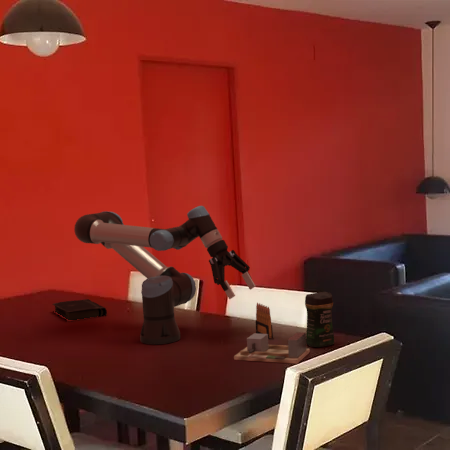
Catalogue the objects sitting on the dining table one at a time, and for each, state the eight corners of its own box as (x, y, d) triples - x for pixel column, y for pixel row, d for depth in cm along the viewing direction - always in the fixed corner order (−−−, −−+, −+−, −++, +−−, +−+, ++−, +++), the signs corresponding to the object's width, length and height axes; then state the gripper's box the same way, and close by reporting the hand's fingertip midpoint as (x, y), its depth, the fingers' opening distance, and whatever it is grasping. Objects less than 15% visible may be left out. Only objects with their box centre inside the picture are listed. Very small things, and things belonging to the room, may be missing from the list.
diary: (90, 308, 349) (89, 298, 349) (107, 317, 327) (106, 306, 327) (51, 313, 341) (50, 302, 340) (65, 323, 318) (65, 311, 318)
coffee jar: (316, 349, 254) (313, 296, 252) (302, 344, 261) (300, 293, 259) (338, 344, 258) (336, 292, 256) (325, 340, 265) (323, 289, 263)
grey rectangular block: (243, 356, 245) (242, 341, 244) (254, 347, 255) (254, 333, 254) (257, 357, 243) (256, 342, 242) (268, 348, 253) (267, 334, 252)
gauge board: (233, 359, 246) (233, 352, 246) (249, 348, 259) (249, 341, 259) (297, 364, 238) (296, 356, 237) (309, 352, 251) (309, 345, 250)
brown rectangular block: (288, 357, 241) (287, 339, 240) (297, 349, 250) (297, 332, 249) (297, 358, 240) (296, 340, 239) (306, 350, 249) (305, 332, 248)
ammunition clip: (273, 338, 272) (271, 306, 270) (268, 339, 271) (267, 307, 270) (260, 332, 281) (258, 301, 280) (255, 333, 281) (254, 302, 280)
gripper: (200, 246, 266) (230, 297, 263) (240, 232, 286) (267, 280, 283) (188, 255, 271) (216, 306, 267) (227, 241, 291) (254, 288, 287)
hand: (242, 292), depth 275 cm, fingers open, 13 cm apart
